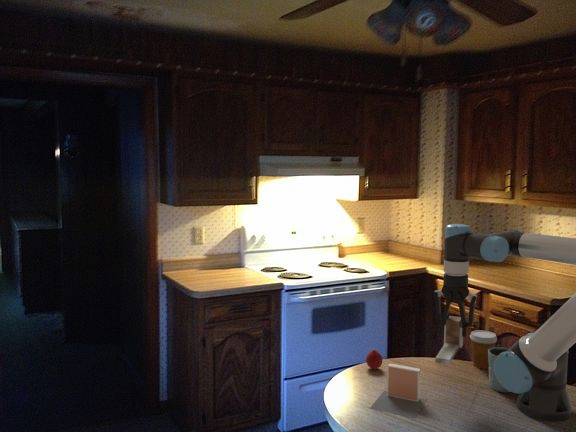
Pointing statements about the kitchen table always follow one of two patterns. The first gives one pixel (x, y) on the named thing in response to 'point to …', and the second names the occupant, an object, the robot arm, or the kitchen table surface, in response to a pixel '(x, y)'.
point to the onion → (374, 359)
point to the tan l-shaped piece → (450, 341)
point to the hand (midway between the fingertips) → (453, 344)
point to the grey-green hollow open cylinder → (492, 378)
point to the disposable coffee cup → (482, 347)
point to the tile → (403, 382)
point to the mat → (398, 405)
